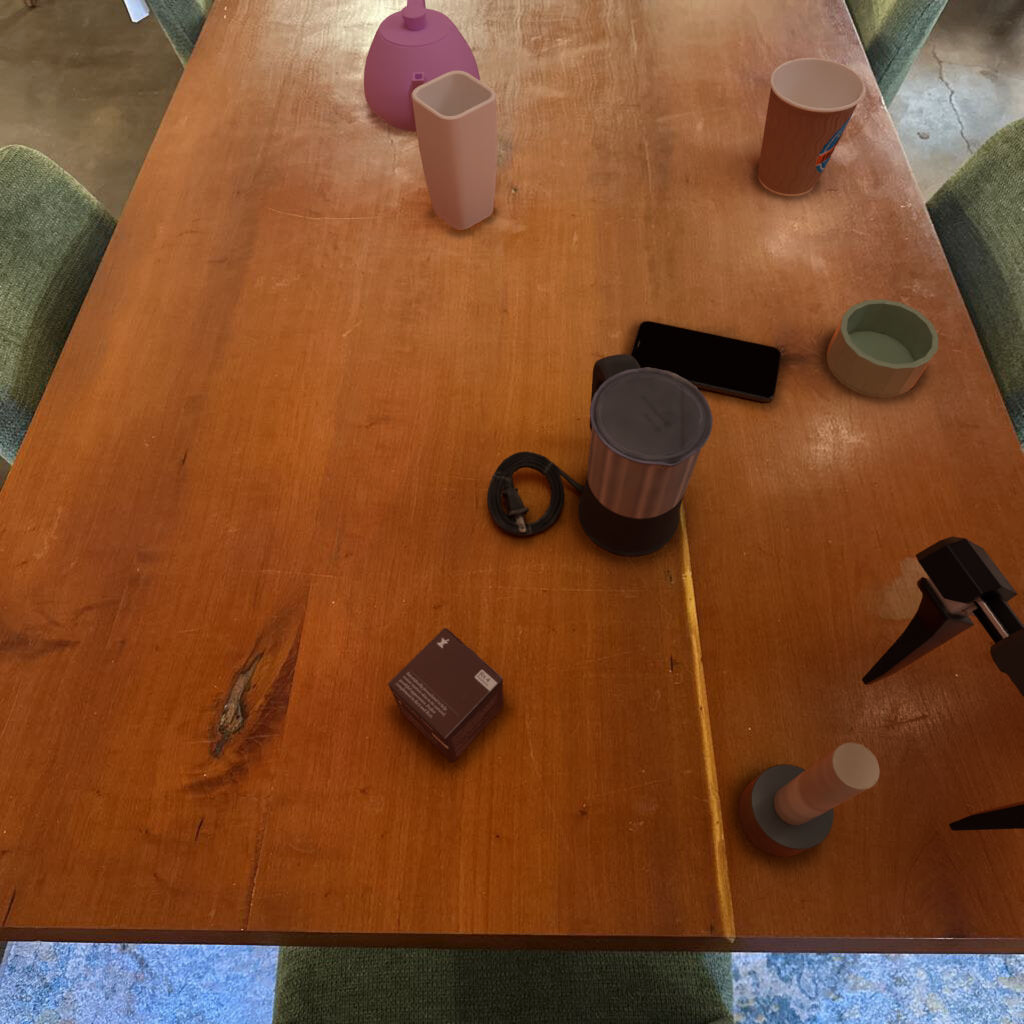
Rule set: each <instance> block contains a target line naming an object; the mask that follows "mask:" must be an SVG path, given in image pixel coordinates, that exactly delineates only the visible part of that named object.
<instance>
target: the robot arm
mask: <svg viewBox="0 0 1024 1024" xmlns="http://www.w3.org/2000/svg"><path fill="white" fill-rule="evenodd" d="M915 557H916V560H917V562H918V563H919V565H920V567H921V568H922V569H923V571H924V572H925V573H926V575H927V576H928V578H927V577H924V576H921V577H920V578H918V580H917V581H916V586H917V587H918V589H919V591H920V592H921V594H922V596H921V600H920V602H919V605H918V607H917V610H916V612H915V614H914V616H913V617H912V619H911V620H910V622H909V623H908V624H907V626H906V628H905V629H904V631H903V632H902V633H901V634H900V635H899V636H898V638H897V639H896V640H895V641H894V643H893V644H892V645H890V647H889V648H888V649H887V650H886V651H885V652H884V653H883V654H882V656H881V657H880V658H879V659H878V660H877V661H876V662H875V664H874V665H873V666H872V667H871V668H870V669H869V670H868V671H867V672H866V673H865V675H863V676H862V678H861V681H862V683H863V684H864V685H865V686H870V685H873V684H875V683H878V682H880V681H882V680H884V679H887V678H889V677H890V676H893V675H894V674H896V673H898V672H899V671H902V670H904V668H906V667H908V666H910V665H911V664H913V663H914V662H916V661H918V660H919V659H921V658H922V657H924V656H925V655H927V654H929V653H931V652H933V651H934V650H935V649H937V648H939V647H941V646H942V645H944V644H945V643H948V642H949V641H950V640H952V639H954V638H956V637H957V636H958V635H960V634H962V633H963V632H965V631H967V630H968V629H969V628H972V627H973V626H975V623H974V621H973V620H972V618H971V617H975V618H976V619H977V621H978V622H979V623H980V625H981V626H982V628H983V629H984V630H985V631H986V633H987V634H988V636H989V637H990V638H991V640H992V641H993V644H992V645H991V646H990V651H989V652H990V656H991V658H992V659H991V660H992V661H993V662H994V664H995V665H996V667H997V669H998V670H999V672H1001V673H1004V674H1006V675H1007V677H1008V678H1009V679H1010V680H1011V682H1012V683H1013V685H1014V686H1015V688H1016V689H1017V690H1018V692H1019V694H1021V696H1022V698H1024V624H1023V622H1022V620H1021V619H1020V617H1018V615H1017V614H1016V613H1015V611H1014V610H1013V609H1012V607H1011V606H1010V604H1009V601H1010V600H1012V599H1013V598H1014V597H1016V596H1017V595H1018V592H1017V591H1016V589H1015V588H1014V587H1013V586H1012V584H1011V583H1010V582H1009V581H1008V579H1007V578H1006V576H1005V575H1004V574H1003V573H1002V571H1001V569H1000V568H999V567H998V566H997V565H996V563H995V562H994V561H993V559H992V558H991V557H990V556H989V554H988V553H987V551H986V550H985V549H984V548H983V547H982V546H980V545H978V544H976V543H974V542H973V541H972V540H970V539H968V538H965V537H960V536H952V535H951V536H949V537H946V538H944V539H943V538H942V539H940V540H938V541H937V542H935V543H933V544H931V545H930V546H928V547H926V548H925V549H923V550H920V552H918V553H916V554H915ZM948 827H949V828H950V830H951V831H953V832H958V831H959V832H961V831H964V832H965V831H991V830H992V831H993V830H1022V829H1023V830H1024V800H1021V801H1017V802H1015V803H1014V802H1013V803H1009V804H1006V805H1005V804H1004V805H1001V806H997V807H993V808H989V809H985V810H981V811H977V812H975V813H972V814H969V815H967V816H964V817H962V818H959V819H957V820H956V819H955V820H954V821H952V822H950V823H948Z"/></svg>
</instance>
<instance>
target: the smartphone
mask: <svg viewBox="0 0 1024 1024" xmlns="http://www.w3.org/2000/svg"><path fill="white" fill-rule="evenodd" d="M629 355H631V356H633V357H634V358H635V359H636V361H637V362H638V364H639V365H640V367H641V368H646V367H650V368H657V369H661V370H666V371H669V372H672V373H675V374H677V375H679V376H680V377H682V378H684V379H686V380H688V381H689V382H691V383H692V384H693V385H694V386H696V387H697V388H698V389H702V390H703V389H704V390H707V391H712V392H716V393H721V394H724V395H730V396H733V397H738V398H744V399H747V400H752V401H756V402H757V401H758V402H760V403H761V402H762V403H769V402H771V401H773V400H774V398H775V396H776V392H777V386H778V380H779V375H780V374H779V373H780V368H781V361H782V352H781V350H780V349H779V348H777V347H774V346H771V345H767V344H763V343H762V344H761V343H756V342H752V341H748V340H743V339H737V338H733V337H729V336H723V335H719V334H713V333H710V332H709V333H708V332H704V331H699V330H695V329H689V328H685V327H680V326H676V325H671V324H666V323H662V322H656V321H651V320H644V321H642V322H641V323H640V324H639V325H638V328H637V331H636V333H635V336H634V340H633V343H632V347H631V351H630V353H629Z"/></svg>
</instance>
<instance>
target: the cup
mask: <svg viewBox="0 0 1024 1024" xmlns="http://www.w3.org/2000/svg"><path fill="white" fill-rule="evenodd" d="M412 101H413V109H414V116H415V124H416V131H417V132H416V137H417V143H418V151H419V155H420V160H421V165H422V170H423V175H424V179H425V183H426V187H427V192H428V195H429V199H430V202H431V206H432V209H433V212H434V214H435V215H436V216H437V217H438V218H440V219H441V220H442V221H443V222H445V223H446V224H447V225H448V226H450V227H451V228H452V229H454V230H459V231H465V230H468V229H470V228H472V227H474V226H476V225H477V224H478V223H480V222H482V221H483V220H485V219H486V218H488V217H490V216H491V215H492V214H493V212H494V205H495V197H496V186H497V185H496V184H497V174H498V113H497V111H498V110H497V93H496V91H495V90H494V89H493V88H492V87H490V86H489V85H488V84H486V83H484V82H482V80H480V81H479V80H478V79H476V78H475V77H473V76H472V75H470V74H469V73H466V72H464V71H451V72H448V73H445V74H443V75H441V76H439V77H437V78H435V79H433V80H431V81H429V82H427V83H425V84H423V85H420V86H419V87H417V88H416V89H414V91H413V92H412Z"/></svg>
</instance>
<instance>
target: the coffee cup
mask: <svg viewBox="0 0 1024 1024" xmlns="http://www.w3.org/2000/svg"><path fill="white" fill-rule="evenodd" d="M769 84H770V91H769V97H768V103H767V109H766V118H765V121H764V122H765V124H764V129H763V136H762V142H761V148H760V154H759V159H758V160H759V161H758V174H757V175H758V180H759V183H760V184H761V185H762V186H763V187H764V188H765V189H766V190H767V191H769V192H771V193H773V194H776V195H780V196H783V197H798V196H802V195H805V194H808V193H809V192H811V191H812V189H814V187H815V185H816V184H817V182H818V181H819V180H820V178H821V176H822V174H823V172H824V171H825V170H826V166H827V165H828V163H829V161H830V159H831V157H832V155H833V153H834V151H835V149H836V147H837V146H838V144H839V142H840V139H841V138H842V136H843V134H844V131H845V130H846V128H847V126H848V124H849V123H850V121H851V118H852V117H853V114H854V112H855V110H856V108H857V106H858V104H859V103H860V102H861V101H862V100H863V99H864V97H865V95H866V83H865V81H864V79H863V78H862V76H861V75H860V74H859V73H858V72H856V70H854V69H852V68H851V67H849V66H848V65H846V64H843V63H840V62H838V61H835V60H831V59H827V58H819V57H800V58H795V59H790V60H787V61H784V62H783V63H781V64H779V65H778V66H777V67H775V69H774V70H773V71H772V73H771V74H770V77H769Z"/></svg>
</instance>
